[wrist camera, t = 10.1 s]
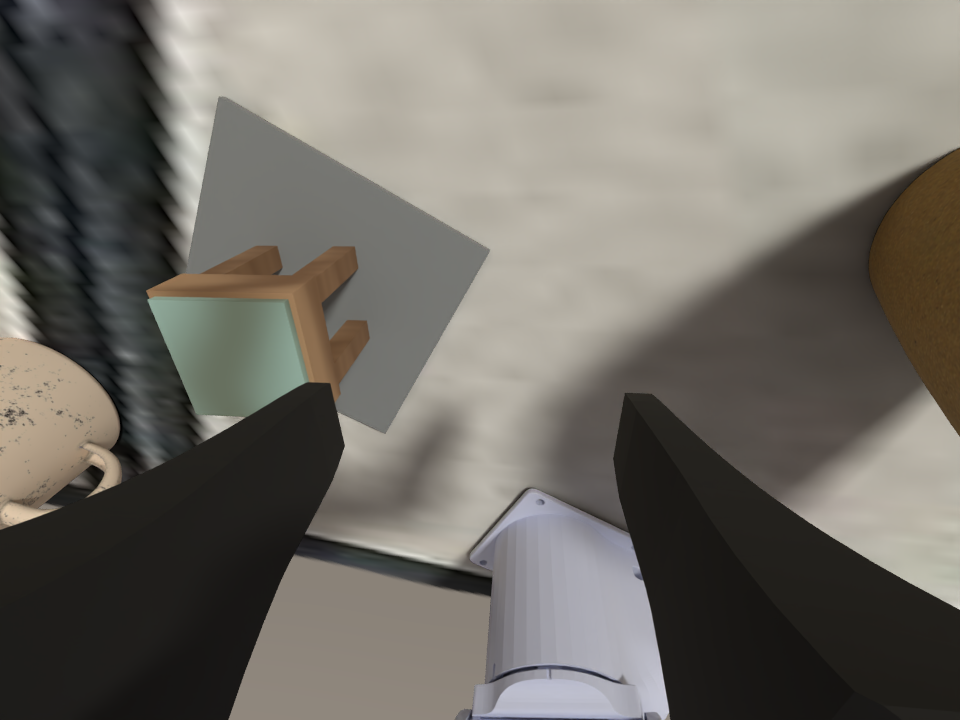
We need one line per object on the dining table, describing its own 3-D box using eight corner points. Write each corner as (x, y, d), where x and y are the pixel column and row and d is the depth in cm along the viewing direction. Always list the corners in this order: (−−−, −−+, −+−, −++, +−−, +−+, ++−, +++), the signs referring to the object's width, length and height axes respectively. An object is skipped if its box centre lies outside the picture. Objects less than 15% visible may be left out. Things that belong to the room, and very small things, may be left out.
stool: (358, 241, 19) (288, 297, 13) (374, 342, 21) (320, 424, 16) (250, 241, 19) (139, 293, 14) (278, 339, 22) (193, 418, 16)
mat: (489, 249, 19) (489, 252, 19) (387, 429, 25) (385, 433, 24) (224, 96, 17) (218, 96, 17) (179, 331, 23) (174, 334, 22)
